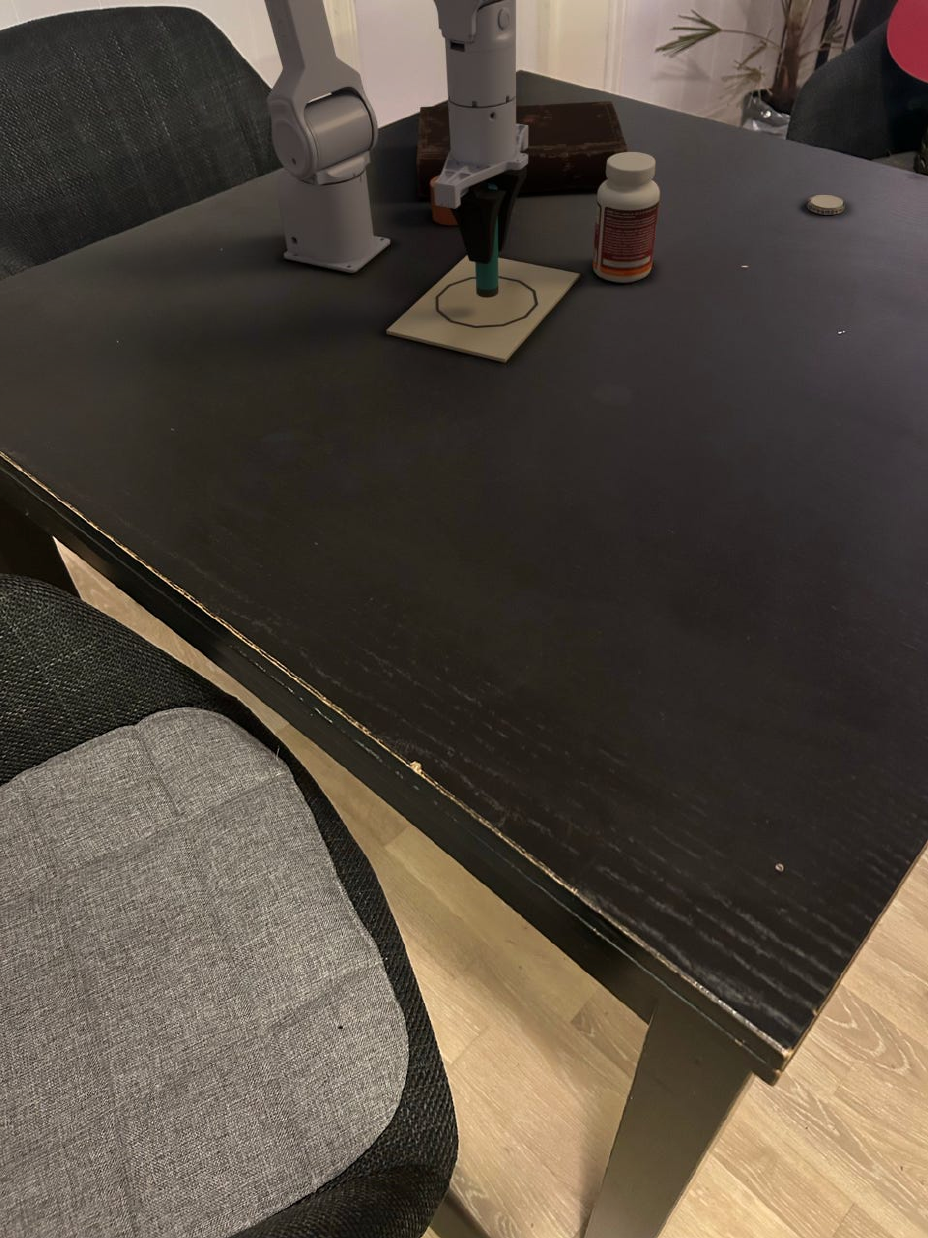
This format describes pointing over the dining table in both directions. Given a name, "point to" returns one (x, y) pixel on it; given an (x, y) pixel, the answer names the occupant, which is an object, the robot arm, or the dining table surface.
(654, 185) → the pill bottle
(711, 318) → the dining table surface
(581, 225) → the dining table surface
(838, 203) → the beige bottle cap
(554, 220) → the dining table surface
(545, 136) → the diary
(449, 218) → the pen cup
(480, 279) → the marker
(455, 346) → the sketch pad
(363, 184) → the robot arm
